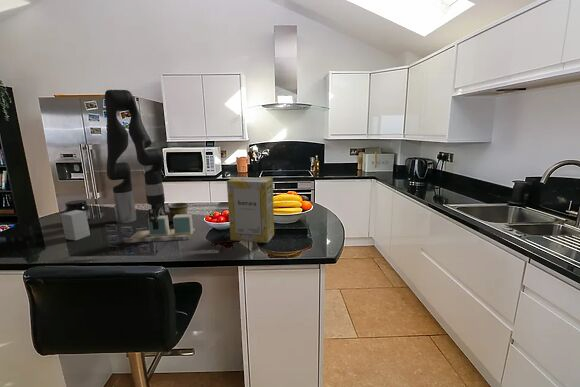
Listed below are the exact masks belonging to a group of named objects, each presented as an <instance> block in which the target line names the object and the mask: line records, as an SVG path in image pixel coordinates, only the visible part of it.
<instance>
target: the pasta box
mask: <svg viewBox="0 0 580 387" xmlns="http://www.w3.org/2000/svg"><path fill="white" fill-rule="evenodd" d="M273 181H274V179H273V177H246V176H245V177H243V176H235V177H233V178H231V179H228V180H227V181H226V191H227V205H228V208H227V209H228V221H229V236H230V238H229V240H230V241H237V242H239V241H240V242H251V243H264V244H269V242H270V241H271V239H273V237H274V235H275V221H274V220H275V216H274V215H275V214H274V213H275V212H274V209H275V208H274V184H273V183H274V182H273Z"/></svg>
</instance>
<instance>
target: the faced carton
mask: <svg viewBox="0 0 580 387" xmlns="http://www.w3.org/2000/svg"><path fill="white" fill-rule="evenodd" d="M172 223H173V229H174V232H175V236H178V235H191V234H192V233H194V232H193V228H194V225H193V224H194V223H193V216H192V213H187V214H180V215H175V216H174V217H173V220H172ZM192 235H193V234H192ZM192 235H191V236H192Z"/></svg>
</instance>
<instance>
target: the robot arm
mask: <svg viewBox="0 0 580 387" xmlns="http://www.w3.org/2000/svg"><path fill="white" fill-rule="evenodd" d="M104 106H105V113H106V114H105V115H106V146H107V147H106V148H107V158H106V176H107V178H108V179H109V180H110V181H118V180H119V181H120V180H122V181H121V183H119V184H117V185H115V186H113V187H112V192H113V197H114V198H113V199H114V204H115V205H114V206H113V210H114V214H115V215H114V216H115V222H116V223H118V224H127V223H132V222H135V221H137V211H136V207H135V198H134V193H133V192H134V191H133V185H132V174H131V167H130V165H129V162H127V161H126V162H124V161H123V162H118V159H119V158H120V157H121V156H122V155H123V154H124V152H126V151H127V149H128V147H129V136H130V138H131V141H132V143H133V144H134V148H135V153H136V154H135V155H136V158H137V162H138V163H139V164H140V165H141V166H143V167H148V166H152V167H151V169H148V170H147V171H146V170H145V171H144V174H143V177H144V184H145V188H144V189H145V190H144V191H145V197H146V204H148V205H150V206H151V208H148V209H147V210H148V218H149V221H150V222H152V224H153V229H154V230H157V229H159V227H158V217H159V216H165V214H166V207H165V205H166V204H165V201H166V200H165V199H166V198H165V190H164V186H163V185H164V184H163V179H162V178H163V177H162V171H163V166H164V165H163V164H164V161H165V160H164V154H163V152H162V150H160V149H158V148H153V149H152V148H151V149H148V148H149V147H151V145H152V139H151V138H150V136H149V133H148V132H147V130H146V128H145V126H144V123H143V121H142V118H141V115H140V110H139V108H138V106H137V103H136V100H135V98H134V96H133V93H131V91H129V90H127V89H107V90H106V91H105V93H104ZM123 111H124V112H126V111H127V112H129V114H130V120H129V125H128V131H127V129H126V128H125V126H124V125H123V124H122V123H121V121H120V120H119V118H118V117H117V112H123ZM151 217H152V218H151Z"/></svg>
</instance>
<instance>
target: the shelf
mask: <svg viewBox="0 0 580 387" xmlns="http://www.w3.org/2000/svg"><path fill="white" fill-rule="evenodd" d="M196 229H197V228H196V227H193V233H194V232H195V230H196ZM169 230H170V233H169V235H168V236H162V237H150V232H149V229H148V230H138V231H136V232H135V233H134V234H132V235H131V236H130V237H129V238H128V237H126V238H123V240H124V241H123V242H124V243H125V244H126V243H128V244H129V243H144V242H146V243H148V242H165V241H166V242H167V241H183V240H185V241H186V240H187V241H188V240H190V238H191V237H192V235H193V233H192V234H191V235H178V236H175V232H174V228H171V229H170V228H169Z"/></svg>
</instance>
